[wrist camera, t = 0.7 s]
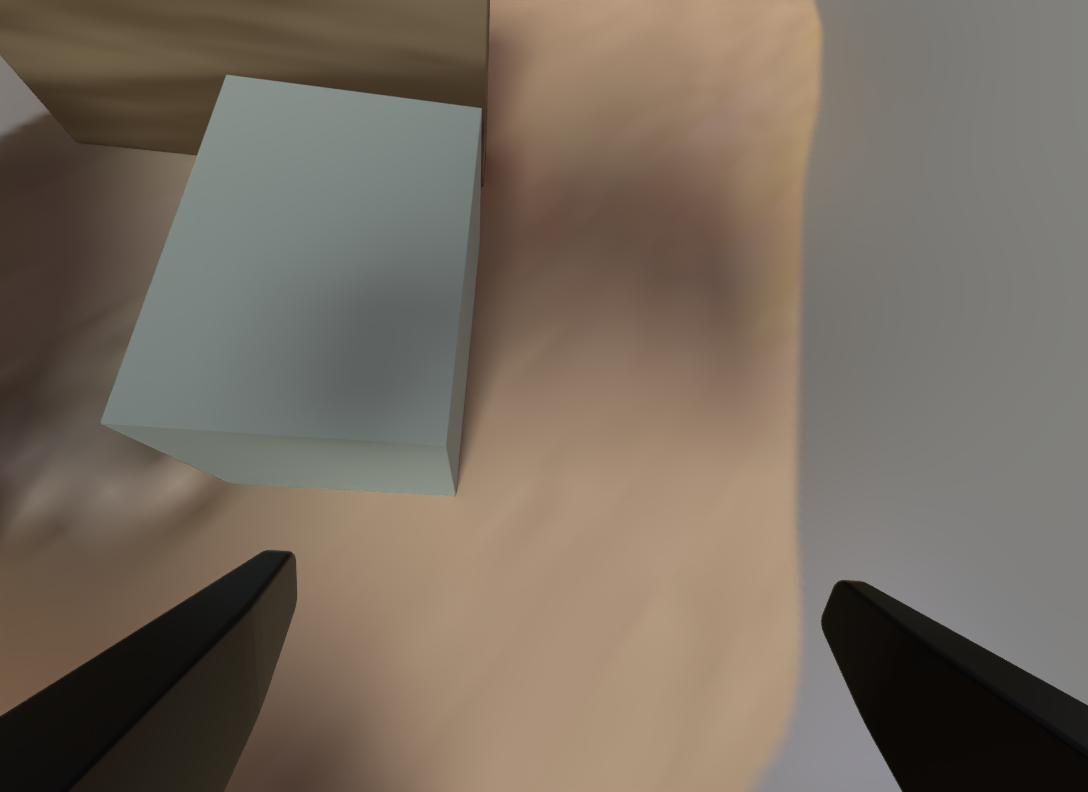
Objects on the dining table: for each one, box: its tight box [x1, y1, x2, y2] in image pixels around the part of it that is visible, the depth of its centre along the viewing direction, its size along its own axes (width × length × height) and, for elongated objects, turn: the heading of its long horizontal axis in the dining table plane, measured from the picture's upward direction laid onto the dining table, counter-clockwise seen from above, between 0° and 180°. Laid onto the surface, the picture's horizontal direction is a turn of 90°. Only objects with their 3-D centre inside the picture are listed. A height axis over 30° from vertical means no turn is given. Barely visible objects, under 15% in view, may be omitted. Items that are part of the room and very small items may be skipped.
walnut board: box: [0, 0, 490, 186], centre depth 23 cm, size 2×20×10 cm, turn 89°
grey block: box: [100, 75, 482, 496], centre depth 20 cm, size 13×9×8 cm
